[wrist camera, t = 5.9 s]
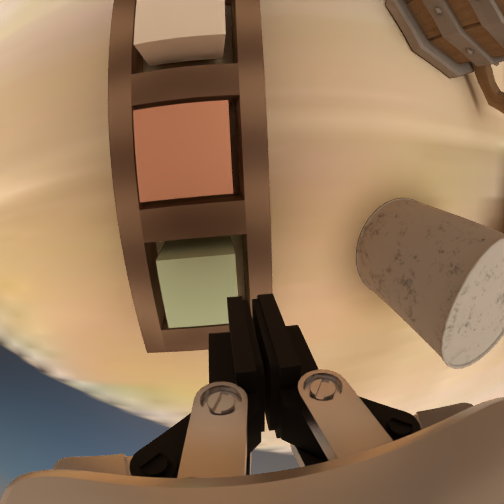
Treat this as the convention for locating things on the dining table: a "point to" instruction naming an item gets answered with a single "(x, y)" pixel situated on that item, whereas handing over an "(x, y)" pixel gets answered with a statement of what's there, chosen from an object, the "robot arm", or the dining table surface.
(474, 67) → the tankard
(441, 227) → the grey stone cylinder
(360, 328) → the dining table surface
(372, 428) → the robot arm
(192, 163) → the terracotta key
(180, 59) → the cream key
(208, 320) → the sage key
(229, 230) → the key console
